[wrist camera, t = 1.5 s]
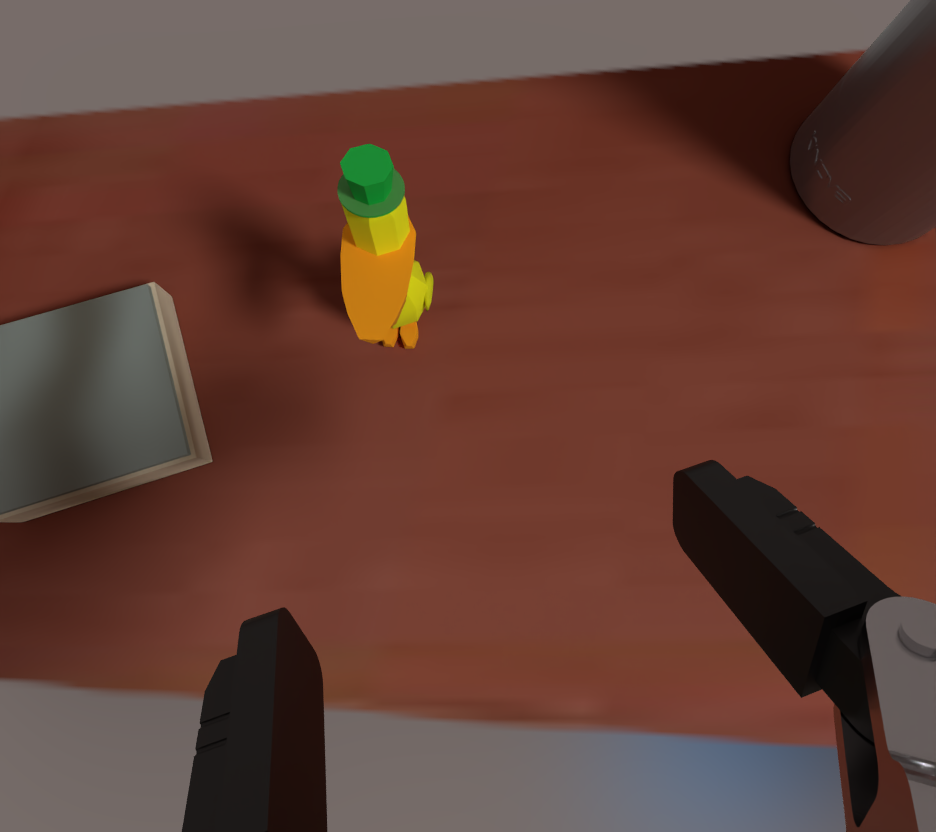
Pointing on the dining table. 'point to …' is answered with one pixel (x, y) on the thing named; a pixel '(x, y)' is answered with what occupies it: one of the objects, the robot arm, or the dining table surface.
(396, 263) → the toy figure
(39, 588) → the dining table surface
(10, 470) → the stand
